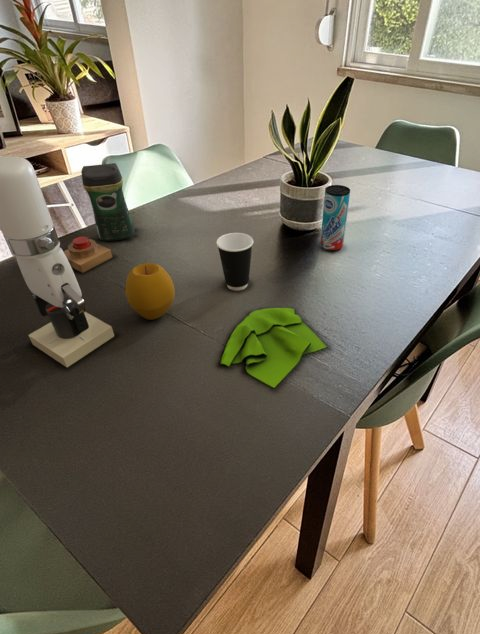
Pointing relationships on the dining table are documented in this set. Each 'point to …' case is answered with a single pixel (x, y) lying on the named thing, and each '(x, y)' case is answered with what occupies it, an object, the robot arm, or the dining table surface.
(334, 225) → the beverage can
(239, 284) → the dixie cup
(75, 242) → the button
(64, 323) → the knob
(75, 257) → the button block
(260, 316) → the cloth
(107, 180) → the coffee jar
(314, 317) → the dining table surface
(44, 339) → the panel
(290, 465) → the dining table surface
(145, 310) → the apple
